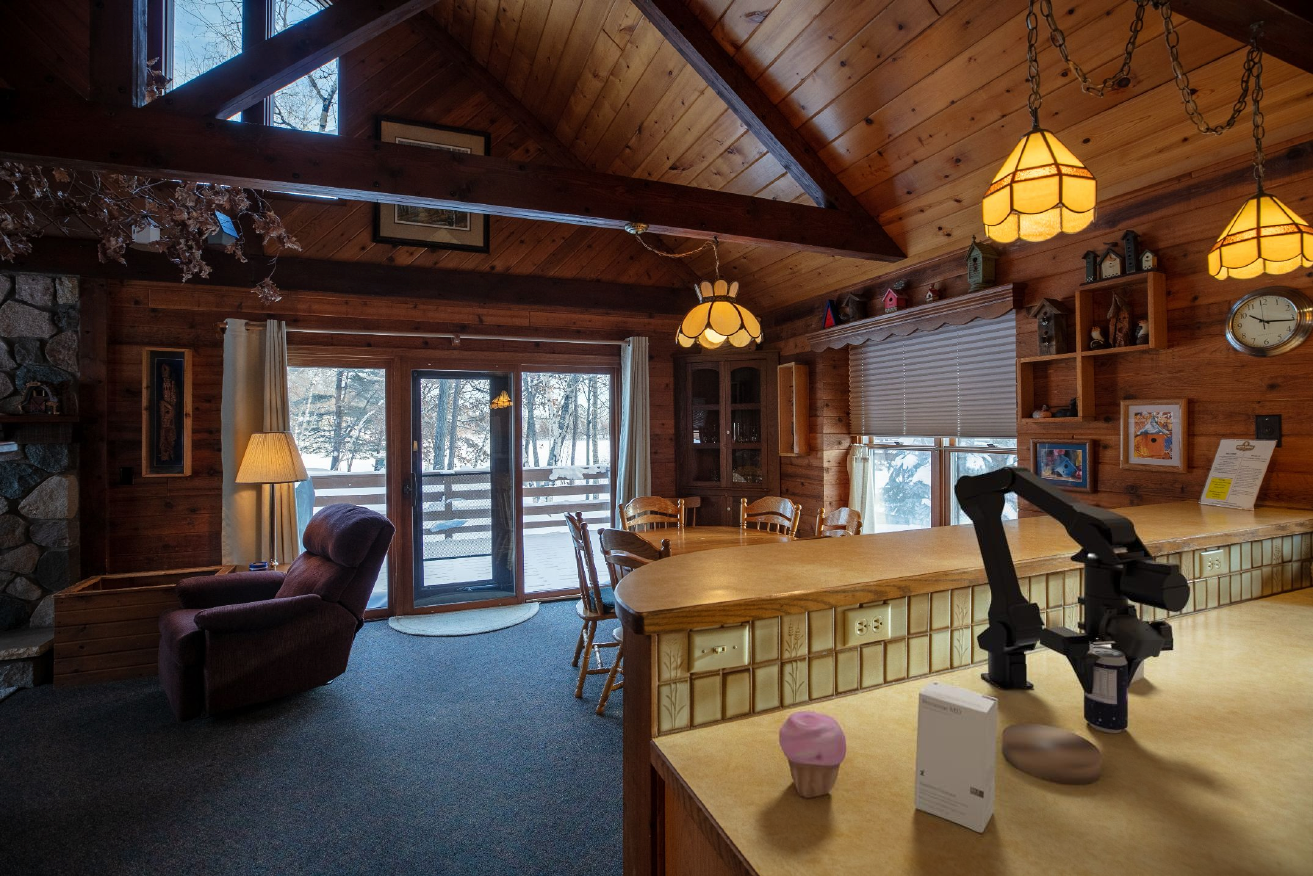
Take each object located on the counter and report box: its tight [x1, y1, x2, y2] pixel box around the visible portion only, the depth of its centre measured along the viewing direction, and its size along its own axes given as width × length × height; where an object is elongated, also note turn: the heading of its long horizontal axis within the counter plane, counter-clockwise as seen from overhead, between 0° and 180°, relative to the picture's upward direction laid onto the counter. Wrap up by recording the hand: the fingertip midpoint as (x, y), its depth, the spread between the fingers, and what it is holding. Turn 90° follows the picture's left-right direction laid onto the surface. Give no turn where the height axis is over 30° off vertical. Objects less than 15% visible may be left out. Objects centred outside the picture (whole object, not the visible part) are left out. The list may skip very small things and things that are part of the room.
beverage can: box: [1083, 646, 1129, 734], centre depth 100 cm, size 6×6×12 cm
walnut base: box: [1001, 723, 1102, 786], centre depth 90 cm, size 12×12×2 cm
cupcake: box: [778, 710, 847, 799], centre depth 84 cm, size 9×9×10 cm
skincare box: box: [913, 680, 999, 834], centre depth 79 cm, size 8×6×15 cm
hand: (1105, 692), depth 100 cm, fingers closed on beverage can, 6 cm apart
